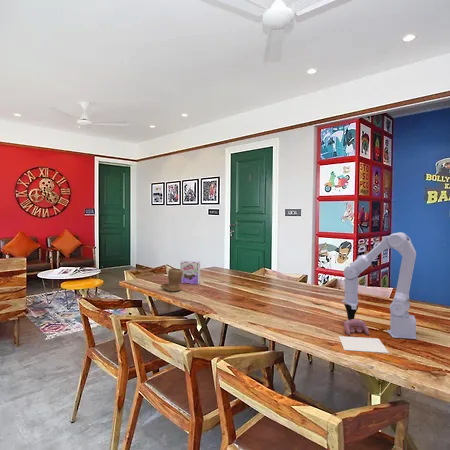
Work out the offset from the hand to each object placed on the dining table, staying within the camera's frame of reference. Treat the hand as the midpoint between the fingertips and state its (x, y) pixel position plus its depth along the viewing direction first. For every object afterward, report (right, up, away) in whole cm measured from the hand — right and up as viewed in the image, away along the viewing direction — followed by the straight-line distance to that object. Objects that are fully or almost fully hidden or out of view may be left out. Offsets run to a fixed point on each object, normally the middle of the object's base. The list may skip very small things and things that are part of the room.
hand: (350, 320), depth 154 cm
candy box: (-85, +1, +92) cm, 125 cm away
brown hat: (-95, 0, +71) cm, 118 cm away
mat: (-4, -3, -23) cm, 23 cm away
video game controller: (-2, -3, -10) cm, 11 cm away
